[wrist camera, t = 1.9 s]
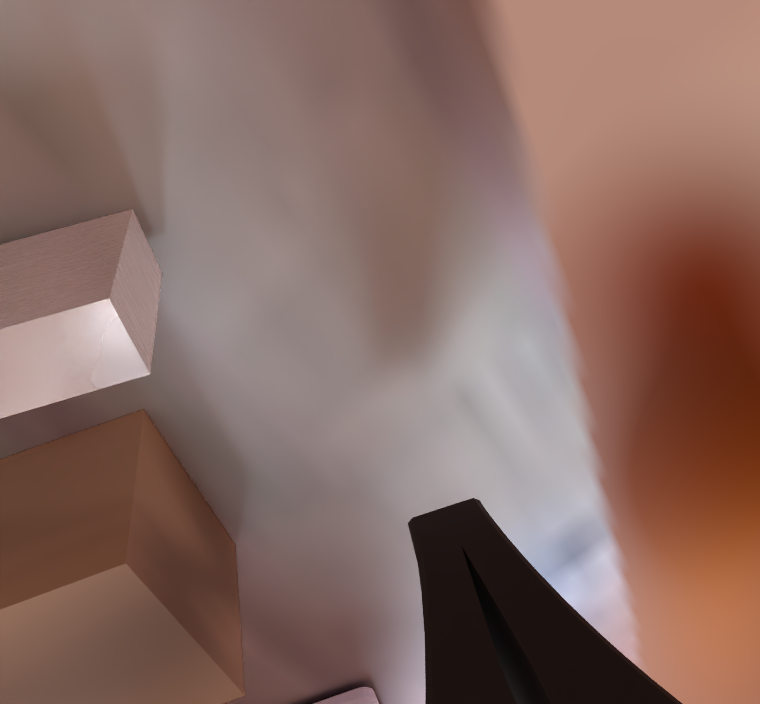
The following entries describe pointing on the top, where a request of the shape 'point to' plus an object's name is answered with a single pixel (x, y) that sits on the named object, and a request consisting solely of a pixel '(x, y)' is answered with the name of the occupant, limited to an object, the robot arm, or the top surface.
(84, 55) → the top surface
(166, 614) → the link block
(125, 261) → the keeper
